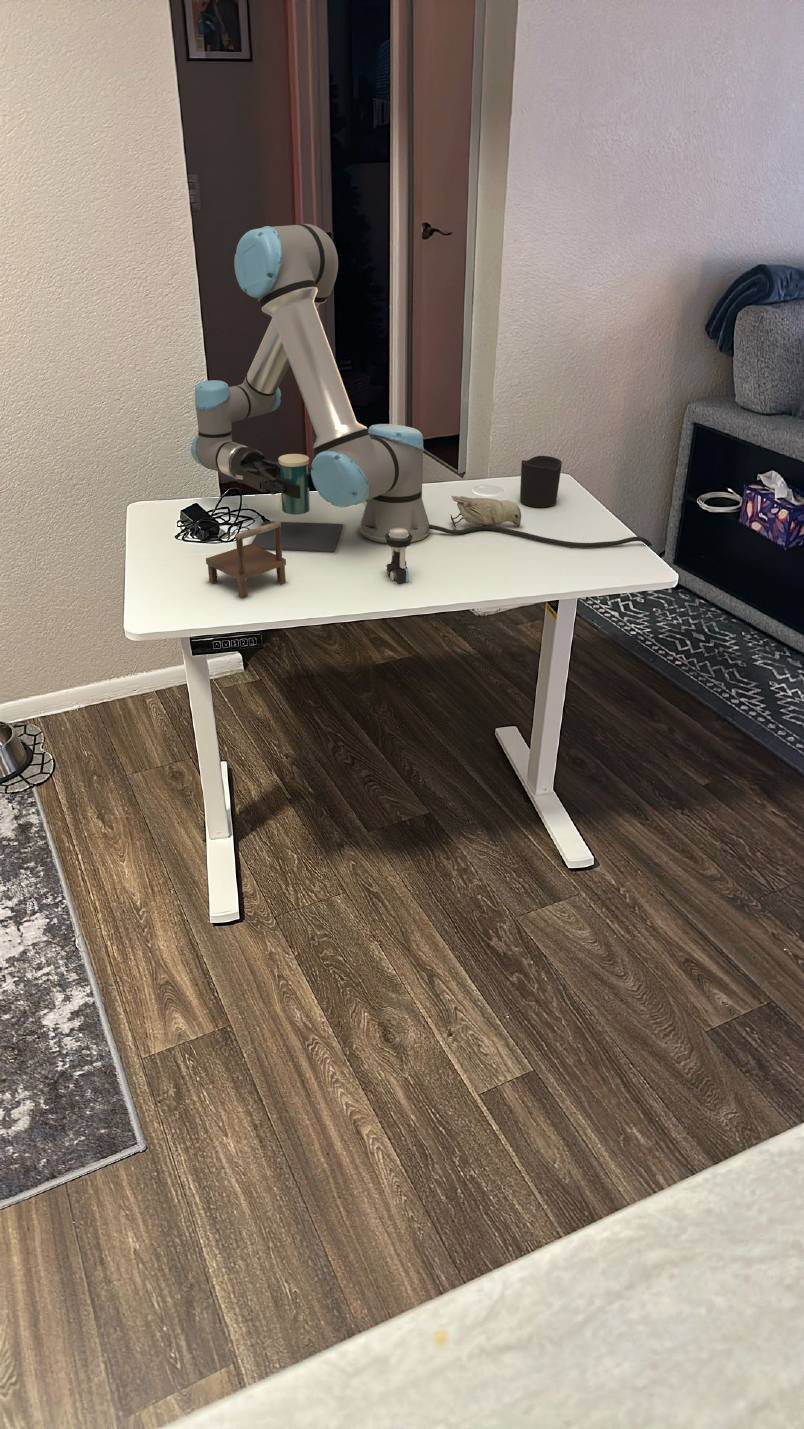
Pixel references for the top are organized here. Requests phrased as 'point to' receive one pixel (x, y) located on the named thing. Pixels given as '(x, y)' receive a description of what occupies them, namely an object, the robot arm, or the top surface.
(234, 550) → the miniature wooden chair
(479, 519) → the decorative bird
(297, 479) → the canister
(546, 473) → the pen holder
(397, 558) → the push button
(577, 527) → the top surface
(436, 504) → the top surface
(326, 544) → the mat
